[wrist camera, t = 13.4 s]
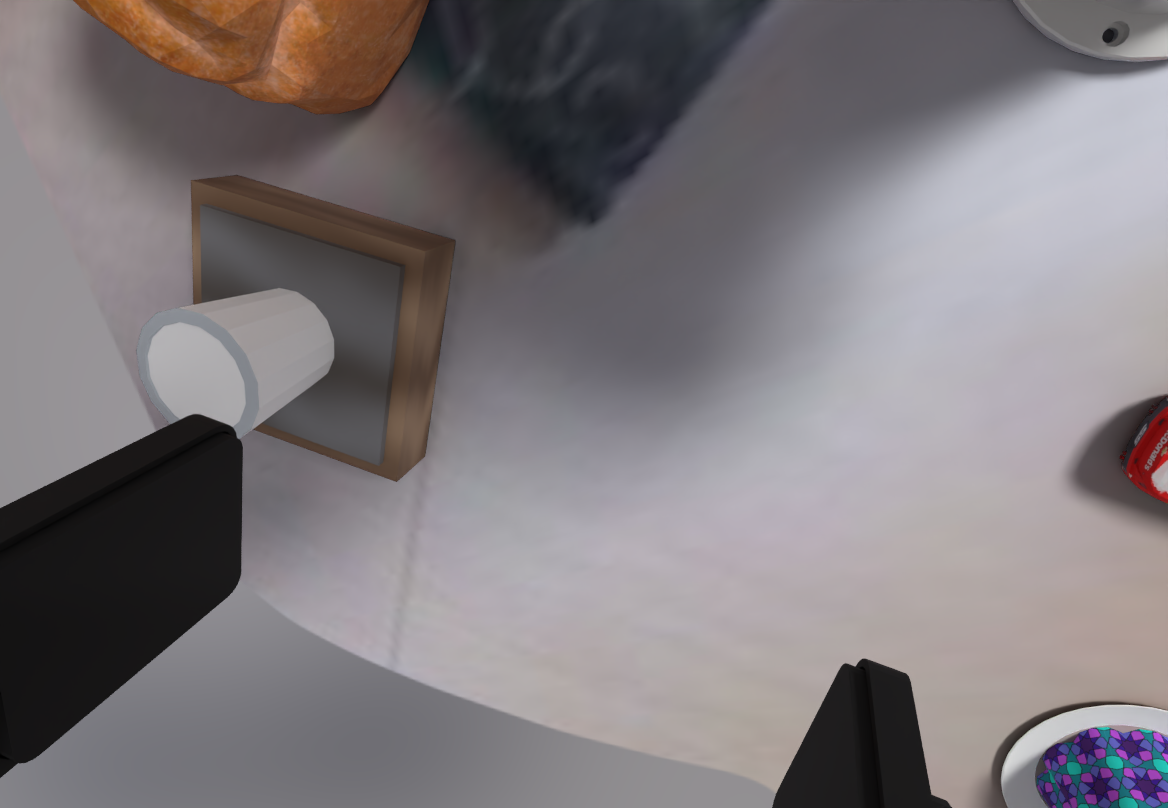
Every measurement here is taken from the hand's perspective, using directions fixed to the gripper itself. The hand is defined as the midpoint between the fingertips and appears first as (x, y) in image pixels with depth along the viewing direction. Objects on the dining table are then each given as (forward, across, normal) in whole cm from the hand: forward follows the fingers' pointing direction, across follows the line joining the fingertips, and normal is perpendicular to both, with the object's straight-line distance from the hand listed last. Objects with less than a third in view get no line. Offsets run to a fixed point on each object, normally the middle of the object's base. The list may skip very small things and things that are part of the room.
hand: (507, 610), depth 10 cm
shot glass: (+24, +21, +10) cm, 34 cm away
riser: (+28, +21, +10) cm, 37 cm away
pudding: (+29, -30, +22) cm, 47 cm away
